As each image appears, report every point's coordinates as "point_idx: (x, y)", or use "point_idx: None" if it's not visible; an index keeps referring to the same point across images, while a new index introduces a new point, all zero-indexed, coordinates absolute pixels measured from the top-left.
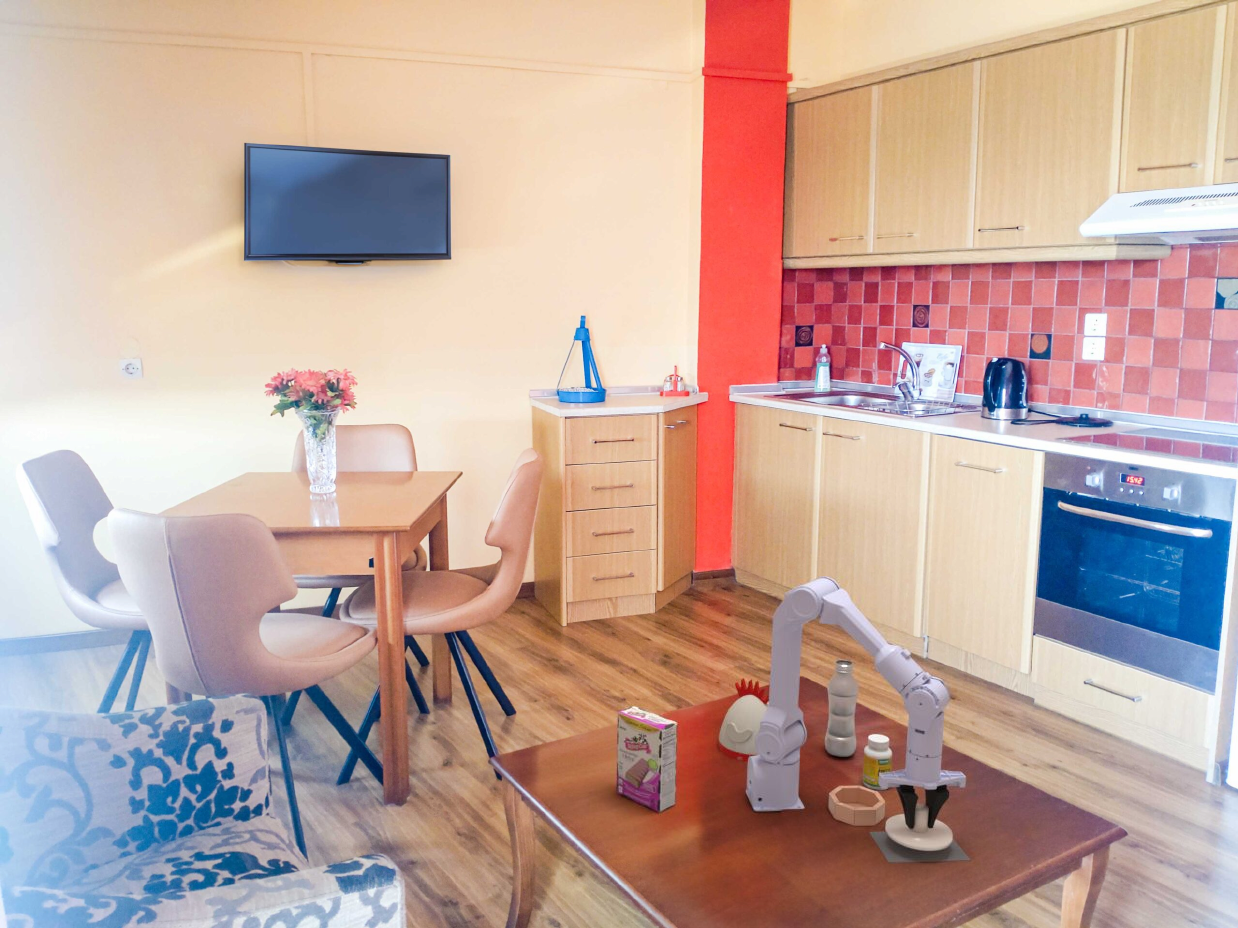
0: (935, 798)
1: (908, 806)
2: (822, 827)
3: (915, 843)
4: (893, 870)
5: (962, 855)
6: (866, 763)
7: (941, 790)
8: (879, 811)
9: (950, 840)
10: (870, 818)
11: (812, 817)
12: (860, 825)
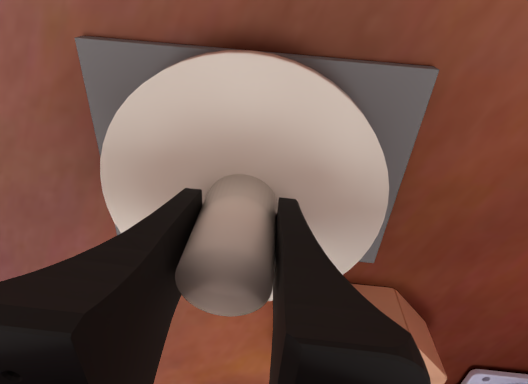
0: (112, 301)
1: (342, 278)
2: (483, 304)
3: (321, 94)
4: (438, 25)
5: (101, 78)
6: None
7: (19, 371)
8: None
9: (127, 98)
10: None
11: (472, 343)
12: (376, 292)
